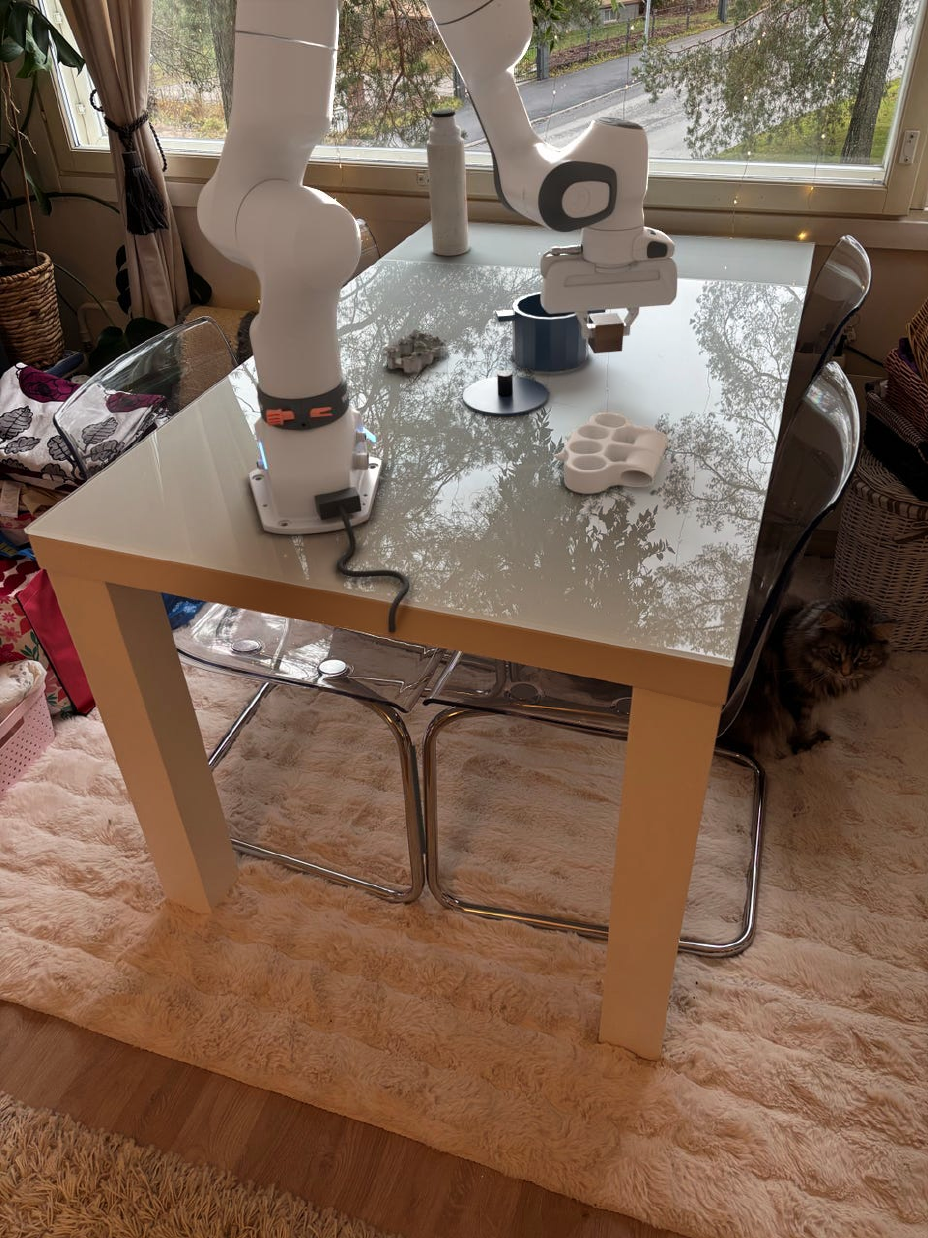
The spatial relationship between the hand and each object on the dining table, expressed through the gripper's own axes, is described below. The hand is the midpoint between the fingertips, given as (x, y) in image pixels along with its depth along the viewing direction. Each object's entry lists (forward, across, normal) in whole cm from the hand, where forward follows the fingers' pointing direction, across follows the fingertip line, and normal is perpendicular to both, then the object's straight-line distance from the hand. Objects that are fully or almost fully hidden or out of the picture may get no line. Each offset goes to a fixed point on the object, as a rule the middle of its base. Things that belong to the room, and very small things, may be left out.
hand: (605, 335), depth 143 cm
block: (+2, 0, 0) cm, 2 cm away
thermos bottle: (+9, -16, +78) cm, 80 cm away
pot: (+9, -6, +14) cm, 18 cm away
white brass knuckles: (+10, -4, -23) cm, 25 cm away
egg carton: (+10, -29, +18) cm, 35 cm away
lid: (+9, -16, 0) cm, 18 cm away
